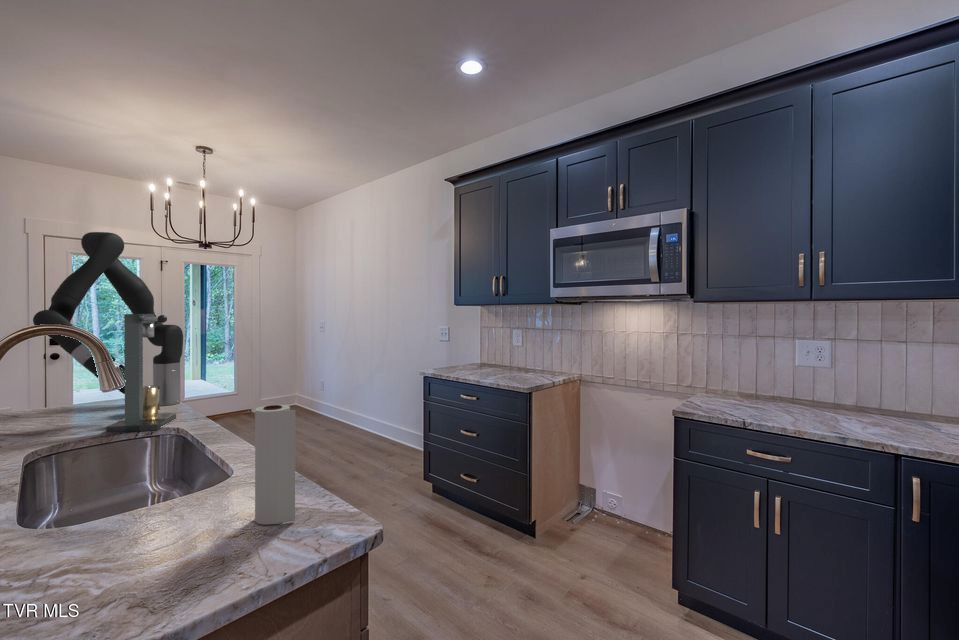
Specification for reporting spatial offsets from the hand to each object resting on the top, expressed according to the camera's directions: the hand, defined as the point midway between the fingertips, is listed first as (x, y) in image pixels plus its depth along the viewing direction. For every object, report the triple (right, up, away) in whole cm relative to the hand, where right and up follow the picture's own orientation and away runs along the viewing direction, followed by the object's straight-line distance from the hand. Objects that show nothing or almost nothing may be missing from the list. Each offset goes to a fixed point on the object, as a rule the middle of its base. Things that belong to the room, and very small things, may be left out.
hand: (133, 389), depth 149 cm
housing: (+4, -10, +1) cm, 10 cm away
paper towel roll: (+80, -14, -67) cm, 105 cm away
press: (+6, -12, -2) cm, 13 cm away
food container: (-7, -12, +15) cm, 20 cm away
